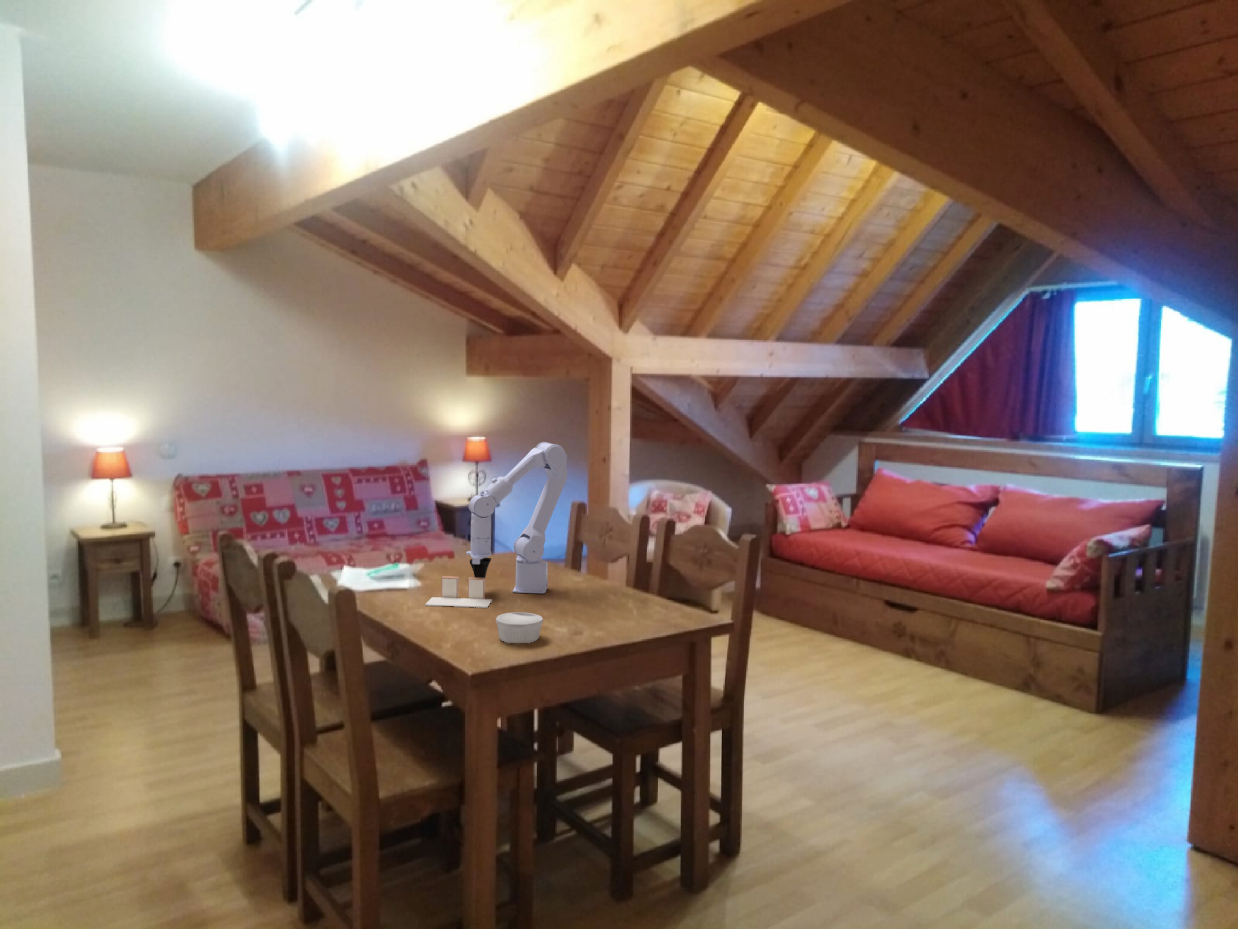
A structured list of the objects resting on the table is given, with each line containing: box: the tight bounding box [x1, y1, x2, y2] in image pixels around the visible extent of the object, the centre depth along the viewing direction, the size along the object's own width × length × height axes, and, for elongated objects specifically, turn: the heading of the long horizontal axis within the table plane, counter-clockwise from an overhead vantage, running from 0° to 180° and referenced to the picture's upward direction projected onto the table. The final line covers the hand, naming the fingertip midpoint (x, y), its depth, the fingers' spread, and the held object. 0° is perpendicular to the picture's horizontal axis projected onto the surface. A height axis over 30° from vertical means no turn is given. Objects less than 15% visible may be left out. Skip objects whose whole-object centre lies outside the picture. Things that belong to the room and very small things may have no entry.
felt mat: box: [424, 596, 493, 609], centre depth 245 cm, size 17×8×1 cm, turn 89°
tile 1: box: [440, 575, 460, 598], centre depth 250 cm, size 4×2×6 cm, turn 89°
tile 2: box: [467, 576, 486, 599], centre depth 250 cm, size 4×2×6 cm, turn 89°
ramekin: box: [495, 611, 544, 644], centre depth 214 cm, size 11×11×5 cm
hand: (480, 583), depth 256 cm, fingers closed
